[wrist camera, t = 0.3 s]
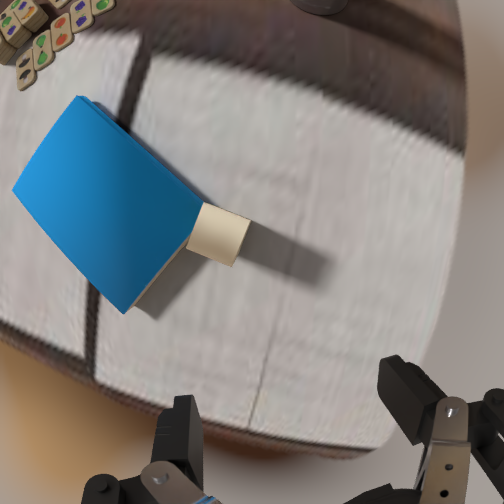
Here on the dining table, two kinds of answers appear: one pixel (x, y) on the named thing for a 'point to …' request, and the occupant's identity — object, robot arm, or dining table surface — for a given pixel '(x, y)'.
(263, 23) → the dining table surface
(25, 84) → the pile of dominoes
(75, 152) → the book
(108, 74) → the dining table surface
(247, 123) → the dining table surface
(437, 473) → the robot arm
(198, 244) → the birch block
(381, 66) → the dining table surface
